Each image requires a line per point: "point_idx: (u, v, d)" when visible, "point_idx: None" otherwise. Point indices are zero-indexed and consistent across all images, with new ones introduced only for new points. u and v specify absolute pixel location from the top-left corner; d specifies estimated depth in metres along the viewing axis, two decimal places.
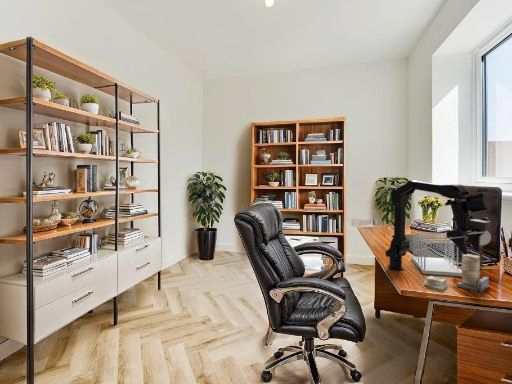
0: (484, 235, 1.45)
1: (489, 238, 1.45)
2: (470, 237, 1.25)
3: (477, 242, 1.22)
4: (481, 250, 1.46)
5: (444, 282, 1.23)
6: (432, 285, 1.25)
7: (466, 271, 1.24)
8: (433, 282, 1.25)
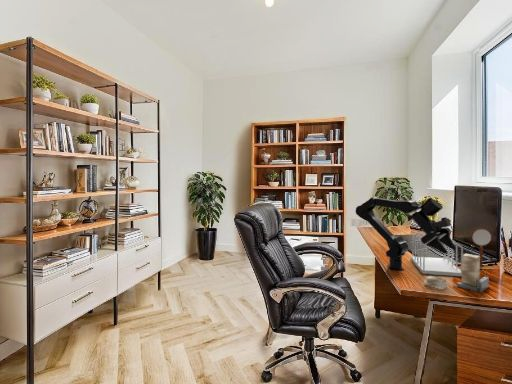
0: (484, 235, 1.45)
1: (489, 238, 1.45)
2: (442, 240, 1.37)
3: (450, 241, 1.34)
4: (481, 250, 1.46)
5: (444, 282, 1.24)
6: (432, 285, 1.25)
7: (466, 271, 1.24)
8: (433, 282, 1.25)
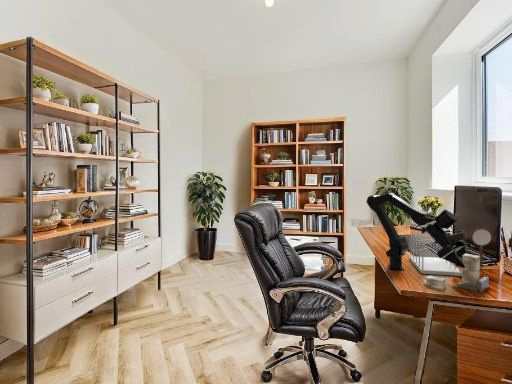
0: (484, 235, 1.45)
1: (489, 238, 1.45)
2: (458, 253, 1.32)
3: None
4: (481, 250, 1.46)
5: (443, 281, 1.24)
6: (431, 284, 1.25)
7: (466, 271, 1.24)
8: (432, 281, 1.25)
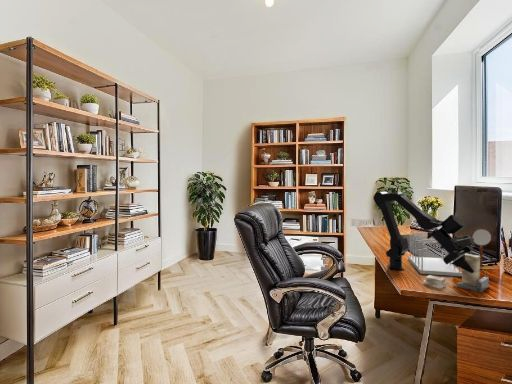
0: (484, 235, 1.45)
1: (489, 238, 1.45)
2: None
3: None
4: (481, 250, 1.46)
5: (443, 281, 1.25)
6: (431, 284, 1.26)
7: (466, 271, 1.24)
8: (432, 281, 1.26)
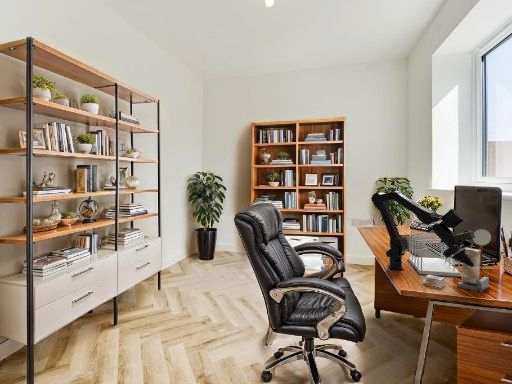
0: (484, 235, 1.45)
1: (489, 238, 1.45)
2: None
3: None
4: (481, 250, 1.46)
5: (442, 280, 1.25)
6: (431, 283, 1.26)
7: (466, 265, 1.24)
8: (432, 280, 1.26)
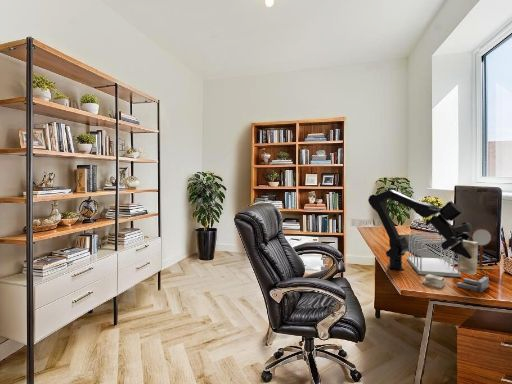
0: (484, 235, 1.45)
1: (489, 238, 1.45)
2: None
3: None
4: (481, 250, 1.46)
5: (442, 280, 1.26)
6: (430, 283, 1.27)
7: (464, 257, 1.25)
8: (431, 280, 1.27)
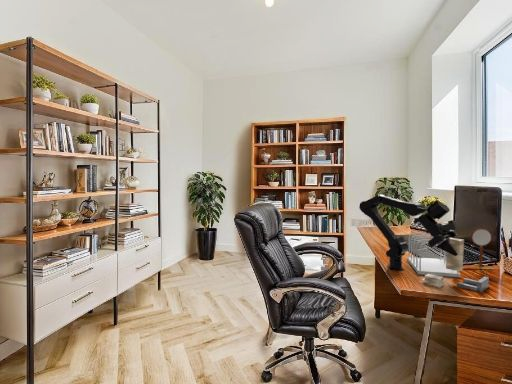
0: (484, 235, 1.45)
1: (489, 238, 1.45)
2: None
3: None
4: (481, 250, 1.46)
5: (441, 279, 1.26)
6: (430, 283, 1.27)
7: (450, 254, 1.29)
8: (431, 280, 1.27)
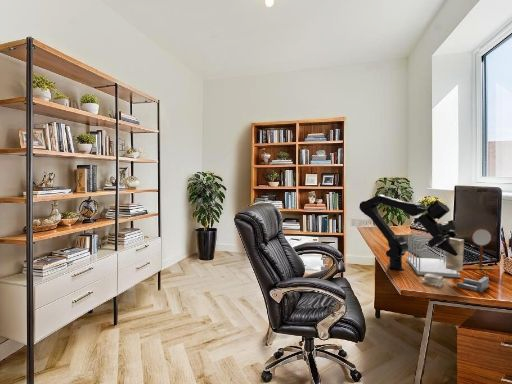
0: (484, 235, 1.45)
1: (489, 238, 1.45)
2: None
3: None
4: (481, 250, 1.46)
5: (441, 279, 1.27)
6: (430, 282, 1.28)
7: (450, 254, 1.29)
8: (431, 279, 1.28)
